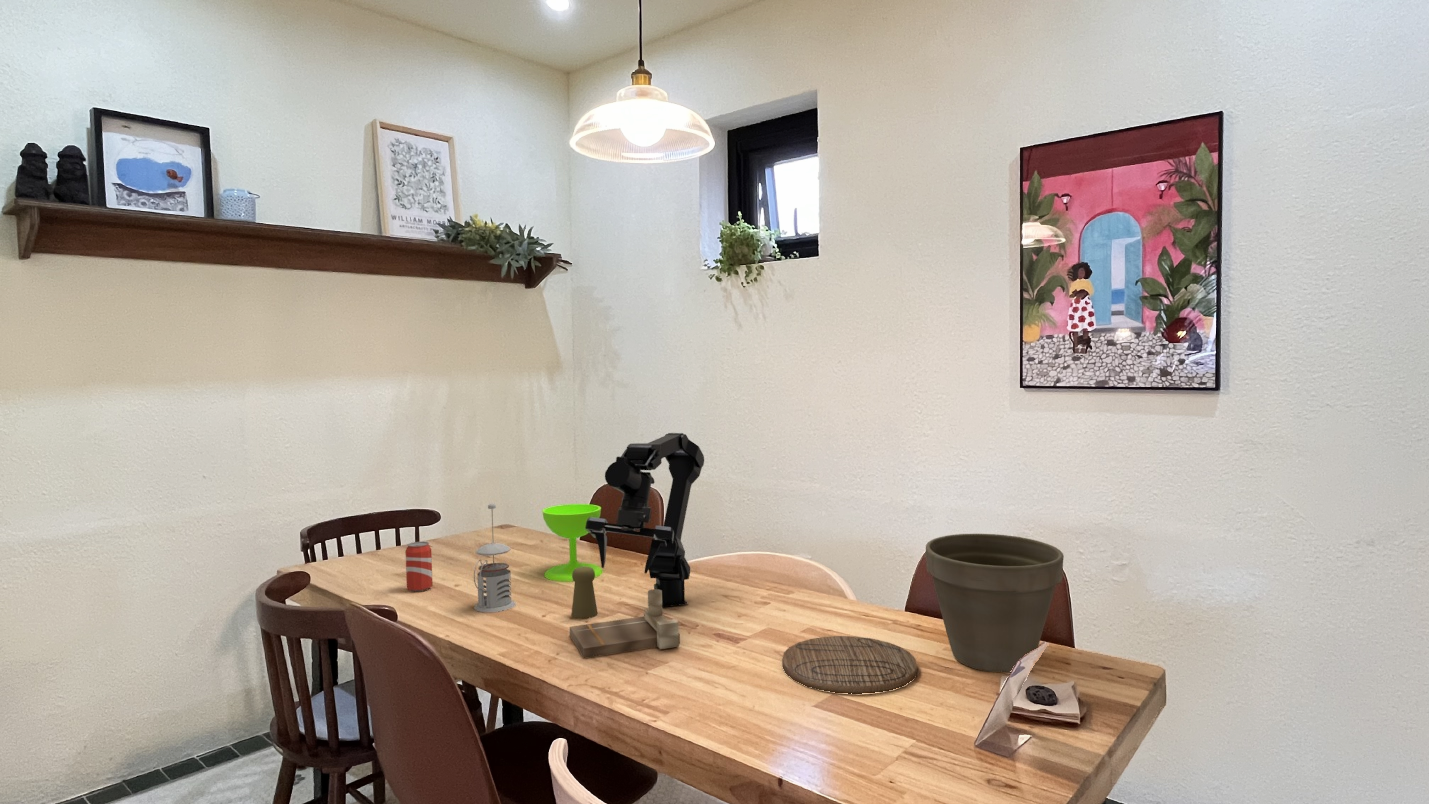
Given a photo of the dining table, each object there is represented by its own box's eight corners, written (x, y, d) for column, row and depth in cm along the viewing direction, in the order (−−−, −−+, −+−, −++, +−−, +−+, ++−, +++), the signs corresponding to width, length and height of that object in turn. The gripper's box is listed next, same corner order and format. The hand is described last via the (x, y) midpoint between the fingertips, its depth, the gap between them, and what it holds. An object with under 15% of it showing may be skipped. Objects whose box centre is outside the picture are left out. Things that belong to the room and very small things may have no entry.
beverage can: (436, 585, 208) (434, 541, 208) (425, 592, 202) (423, 546, 201) (414, 585, 209) (412, 540, 208) (402, 592, 203) (400, 546, 202)
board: (659, 622, 175) (659, 613, 175) (679, 643, 162) (679, 633, 162) (569, 635, 168) (569, 626, 168) (583, 658, 155) (583, 648, 155)
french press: (524, 601, 193) (520, 500, 192) (496, 616, 182) (492, 509, 181) (489, 598, 196) (486, 499, 195) (460, 612, 185) (456, 507, 184)
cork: (592, 619, 179) (591, 571, 178) (567, 618, 180) (565, 570, 179) (601, 611, 184) (600, 564, 184) (577, 609, 186) (575, 563, 185)
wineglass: (614, 570, 221) (612, 506, 220) (575, 584, 207) (573, 516, 206) (572, 563, 229) (570, 502, 228) (531, 576, 216) (529, 511, 215)
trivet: (779, 645, 161) (778, 636, 161) (901, 644, 160) (901, 635, 160) (786, 697, 136) (786, 686, 136) (931, 696, 135) (931, 686, 135)
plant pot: (1068, 693, 135) (1068, 568, 134) (920, 676, 143) (919, 558, 142) (1058, 643, 158) (1059, 537, 157) (931, 631, 167) (931, 530, 166)
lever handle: (659, 626, 172) (658, 585, 172) (678, 646, 160) (678, 602, 159) (641, 628, 171) (640, 587, 170) (660, 649, 158) (659, 604, 158)
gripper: (588, 485, 165) (574, 560, 160) (676, 496, 164) (665, 571, 159) (595, 496, 176) (582, 566, 171) (678, 507, 175) (668, 577, 170)
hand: (624, 570), depth 167 cm, fingers open, 9 cm apart
